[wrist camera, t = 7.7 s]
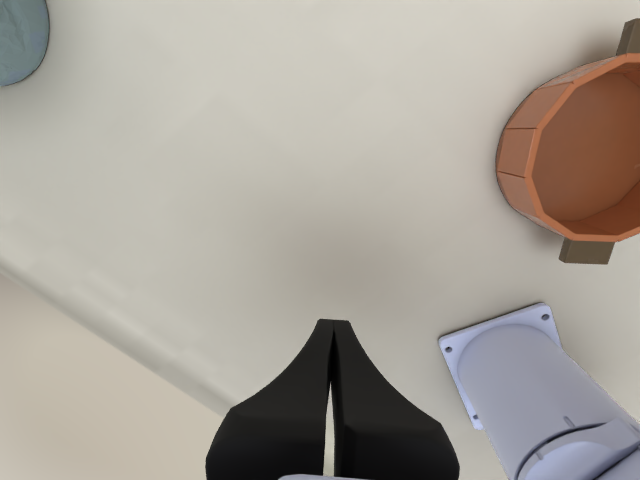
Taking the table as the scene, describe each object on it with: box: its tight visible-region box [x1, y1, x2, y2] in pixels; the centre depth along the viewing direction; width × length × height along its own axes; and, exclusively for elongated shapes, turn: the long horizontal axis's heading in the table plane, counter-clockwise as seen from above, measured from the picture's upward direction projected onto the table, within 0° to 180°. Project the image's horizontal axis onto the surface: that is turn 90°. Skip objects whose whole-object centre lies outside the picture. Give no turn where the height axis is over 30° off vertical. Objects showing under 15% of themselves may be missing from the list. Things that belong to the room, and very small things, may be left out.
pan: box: [496, 18, 640, 265], centre depth 18 cm, size 9×12×4 cm
